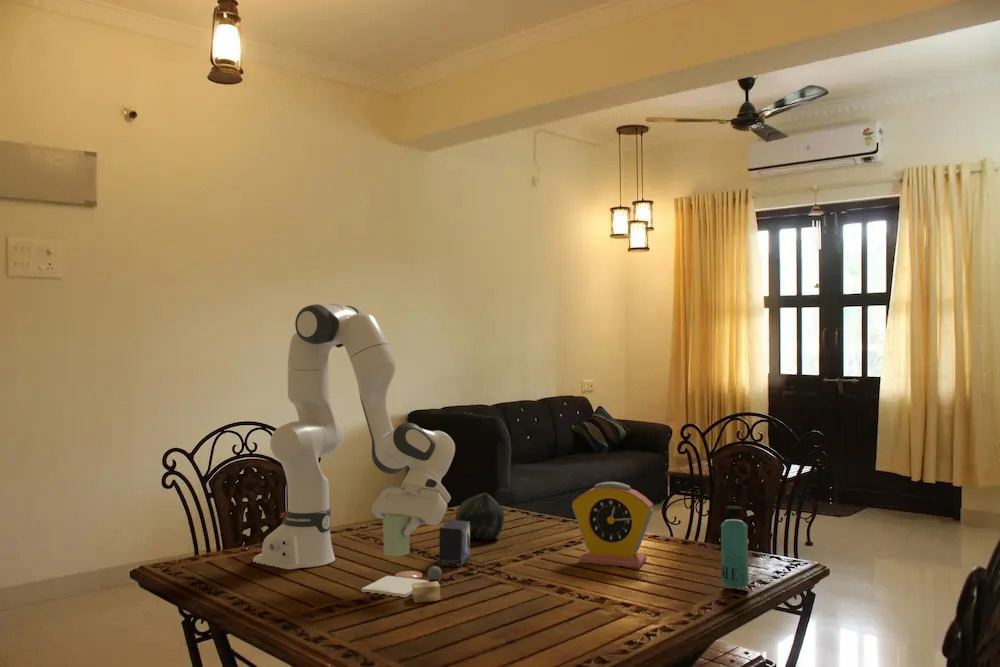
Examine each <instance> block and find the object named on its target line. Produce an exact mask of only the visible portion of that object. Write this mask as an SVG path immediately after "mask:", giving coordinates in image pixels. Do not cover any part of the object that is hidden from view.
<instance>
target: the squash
mask: <svg viewBox="0 0 1000 667" xmlns="http://www.w3.org/2000/svg"><path fill="white" fill-rule="evenodd" d="M454 520H457V521H470V540H471V539H476V540H482V541H484V540H485V541H484V542H487V541H490V539H492V540H494V539H496V538H497V537H498V536H499V535H500V533H501V532H502V530H503V527H504V523H505V514H504V511H503V508H502V507H501V505H500V504H499V503H498V501H496V500H495V498H493V497H492V496H491V495H490V494H489V493H486V492H482V493H479V494H476V495H474V496H471V497H469V498H467V499H466V500H464V501H463V502H462V503H461V504H460V506H459V507H458V509H457V511H456V514H455V519H454Z"/></svg>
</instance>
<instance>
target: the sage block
mask: <svg viewBox="0 0 1000 667" xmlns="http://www.w3.org/2000/svg"><path fill="white" fill-rule="evenodd" d="M409 524H410V522H409V517H408V516H401V515H391V516H387V517H384V518H383V519H382V525H383V526H382V527H383V528H382V529H383V532H382V534H383V535H382V536H383V539H382V540H383V543H382V544H383V556H388V557H395V558H399V557H401V556H404V555H407V554H410V552H411V548H410V547H411V546H410V545H411V544H410V542H411V541H410V540H411V539H410V536H409V537H403V536H402V535H401V531H402V529H403V527H407V526H408V525H409Z"/></svg>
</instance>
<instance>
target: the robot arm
mask: <svg viewBox="0 0 1000 667" xmlns="http://www.w3.org/2000/svg"><path fill="white" fill-rule="evenodd" d="M294 327H295V331H296V332H295V333H294V334H293V335H292V336H291V339H290V344H289V349H288V357H287V398H288V400H289V401H290V402H291V403H292V404H293V405H294V407H295V410H296V413H297V416H298V420H295V421H290V422H287V423H285V424H283V425H281V426H279V427H277V428H276V429H275V430H274V431H273V433H272V434H271V437H270V441H269V444H270V450H271V453H272V455H273V456H274V457H275V458H276V459H277V460H278V461H279V462H280V463H281V466H282V468H283V472H284V474H285V475H284V476H285V478H286V483H287V484H286V486H287V510H285V511H284V512H282V513H279V515H281V516H279V518H283V519H282V524H280V525H279V526H278V527H276V529H274V530H273V531H272V532H270V533H269V534H268V535H267V536H266V537H264V540H263V543H262V548H261V553H259V554H257V555H255V556H254V557H253V559H252V562H253V563H255V562H256V564H259V563H260V564H259V565H264V564H265V566H269V567H270V566H271V567H273V566H274V567H275V568H278V567H279V569H284V570H294V569H295V570H296V569H301V568H302V569H303V568H315V567H319V566H325V565H328V564H331V563H333V562H335V560H336V557H335V556H336V555H335V553H334V550H333V544H332V539H331V538H332V537H331V530H330V529H331V525H332V523H331V522H332V521H331V520H332V518H331V516H332V515H331V512H332V511H331V508H330V483H329V479H328V478H327V477H326V475H324V474H323V472H322V470H321V467H320V462H319V458H322V457H327V456H329V455H331V454H333V453H334V452H336V451H337V450H338V449H340V447H341V446H342V445H343V443H344V439H345V434H344V433H345V432H344V429H343V426H342V425H341V424H340V423H339V421H338V420H337V419H336V417H335V414H334V411H333V407H332V404H331V400H330V399H331V397H330V386H329V385H330V384H329V383H330V382H329V381H330V380H329V379H330V377H329V374H330V373H329V372H330V370H329V354H330V352H331V349H333V348H334V347H336V348H338V349H339V348H341V347H344V348H345V349H346V352H347V355H348V358H349V360H350V363H351V365H352V369H353V373H354V375H355V378H356V382H357V386H358V392H359V398H360V399H359V400H360V404H361V406H362V409H363V413H364V417H365V421H366V423H367V428H368V431H369V434H370V439H371V458H372V461H373V463H374V465H375V466H376V467H377V468H378V469H379V470H380V471H381V472H383V473H385V474H388V475H395V474H400V473H401V472H403V470H404V469H406V467H408V468H409V470H408V472H407V474H405V475H406V476H405V477H404V480H403V481H402V483H401V485H390V486H388V487H386V488H385V489H384V490H383V491H382V492H381V493H380V494H379V496H378V497H377V499H376V500H375V502H374V503H373V504H372V507H371V512H372V514H373V515H374V516H375V517H376V518H377V519H380V520H383V518H384V517H387V516H391V515H401V516H408V517H409V525H408V526H407V527H403V529H402V531H401V535H402V536H403V537H409V538H410V535H411V533H412V532H413V531H415V530H416V529H417V528H418V527H419V526H420V524H422V525H428V526H429V525H430V526H437V525H439V524H440V523H441V522H442V521H443V519H444V516H445V514H446V512H447V509H448V503H450V501H451V499H452V497H451V495H450V493H449V492H448V491H447V489H446V487H445V486H444V485H443V484H442V483H441V482H442V479H443V478H444V476H445V475H446V474H447V472H448V471H449V468H450V466H451V464H452V462H453V459H454V456H455V452H456V444H455V442H454V440H453V439H452V437H451V436H450V435H449V434H447V433H446V432H444V431H443V430H442V431H441V430H428V429H424V428H422V427H420V426H419V425H418V424H415V423H412V422H403V423H401V424H398V425H397V426H396V427H395V428H394V426H393V423H392V419H391V417H390V414H389V410H388V407H387V394H388V390H389V388H390V385H391V383H392V380H393V377H394V376H395V372H396V362H395V357H394V352H393V351H392V348H391V346H390V343H389V341H388V339H387V338H388V337H387V336H386V335H385V332H384V330H383V328H382V327H381V325H380V324H379V322H378V321H377V319H376V318H375V317H374V316H373V315H372V314H370V313H367V312H362V310H360V309H358V308H356V307H354V306H351V305H343V304H337V303H336V304H335V303H329V304H311V305H308V306H305V307H303V308H301V309H300V310H299V311H298V313H297V315H296V318H295V322H294ZM381 532H382V533H383V528H382V529H381Z"/></svg>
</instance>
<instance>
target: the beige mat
mask: <svg viewBox="0 0 1000 667" xmlns="http://www.w3.org/2000/svg"><path fill="white" fill-rule="evenodd" d="M421 582H430V579H429V580H428V579H421V578H420V579H411V578H403V577H395V575H386V576H384V577H382V578H379V579H377V580H376V581H374V582H372V583H370V584H367V585H366V586H364V587H362V588H361V592H362V593H366V592H370V593H369V594H374V593H379V594H378V595H382V594H386V595H385V596H390V595H392V596H391V597H398V596H400V597H399V598H407V597H409V596H411V595H412V583H421ZM410 594H411V595H410Z"/></svg>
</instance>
